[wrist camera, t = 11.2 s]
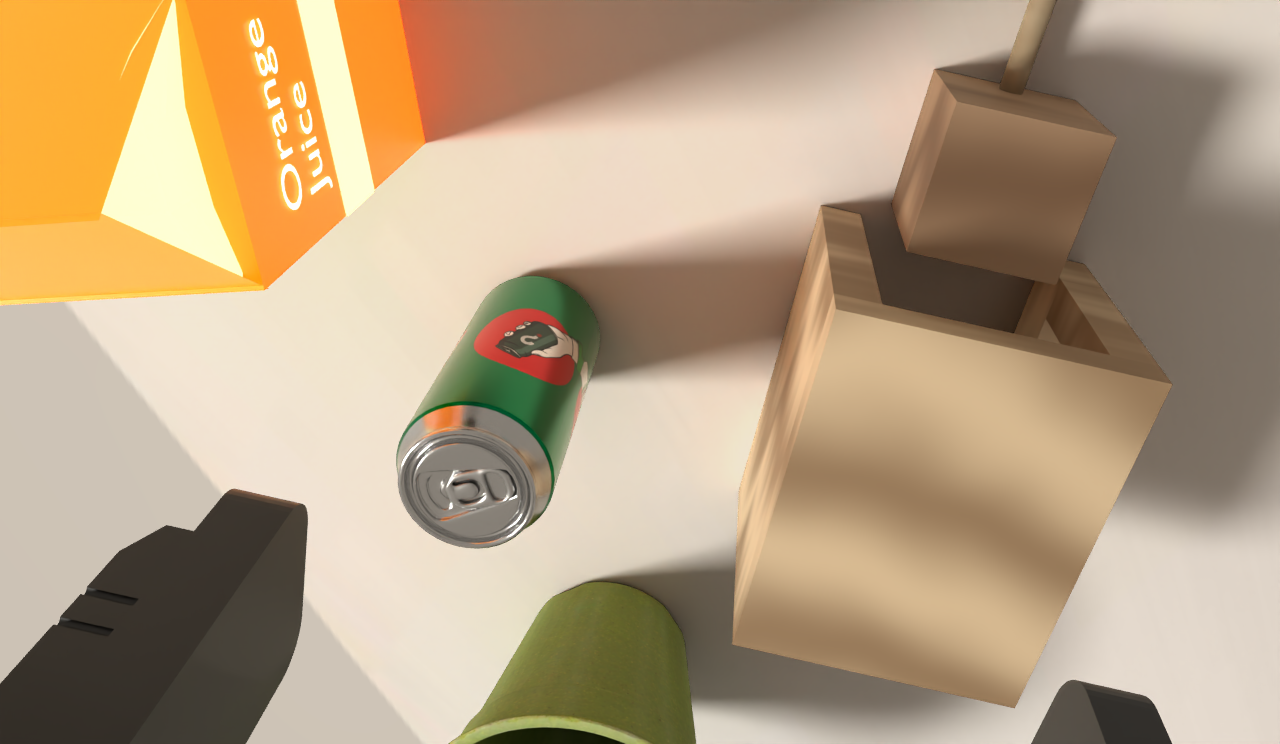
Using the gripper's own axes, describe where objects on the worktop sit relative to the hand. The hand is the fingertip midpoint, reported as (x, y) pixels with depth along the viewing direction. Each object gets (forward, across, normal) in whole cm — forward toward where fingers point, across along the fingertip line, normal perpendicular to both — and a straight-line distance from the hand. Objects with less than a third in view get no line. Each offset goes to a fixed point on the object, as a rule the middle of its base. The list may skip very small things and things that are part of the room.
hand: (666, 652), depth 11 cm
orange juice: (+30, +16, +3) cm, 34 cm away
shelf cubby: (+30, -9, +10) cm, 33 cm away
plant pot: (+30, 0, +27) cm, 40 cm away
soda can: (+30, +5, +12) cm, 33 cm away
